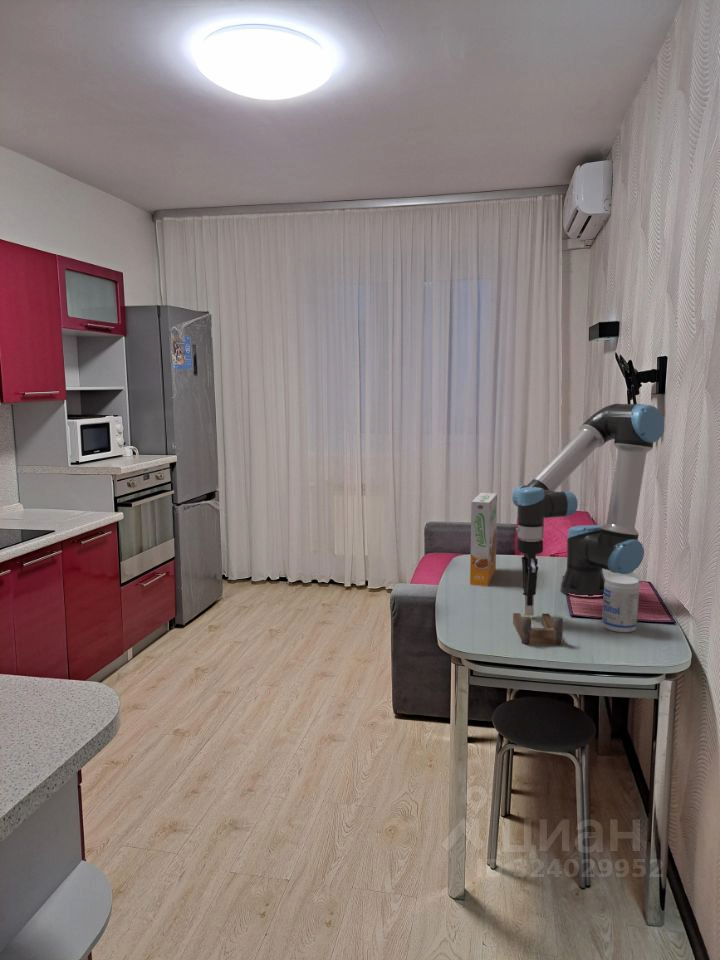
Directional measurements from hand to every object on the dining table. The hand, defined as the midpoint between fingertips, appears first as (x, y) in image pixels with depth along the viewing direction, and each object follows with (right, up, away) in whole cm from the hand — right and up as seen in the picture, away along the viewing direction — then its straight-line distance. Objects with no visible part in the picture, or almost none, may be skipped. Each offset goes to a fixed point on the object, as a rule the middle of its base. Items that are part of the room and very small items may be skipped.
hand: (528, 614), depth 212 cm
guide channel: (-1, -3, -13) cm, 13 cm away
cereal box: (-6, +5, +46) cm, 47 cm away
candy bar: (-2, -3, -10) cm, 10 cm away
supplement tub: (+24, -2, -9) cm, 26 cm away
